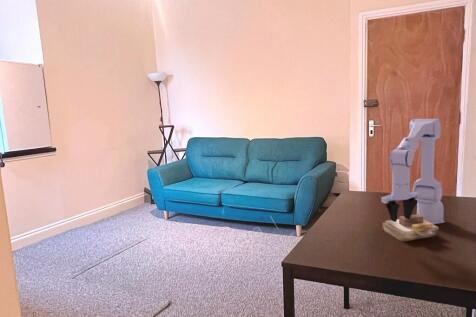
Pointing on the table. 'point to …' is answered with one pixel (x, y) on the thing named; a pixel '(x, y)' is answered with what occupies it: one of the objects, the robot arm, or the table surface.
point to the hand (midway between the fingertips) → (400, 219)
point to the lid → (410, 225)
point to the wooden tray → (402, 236)
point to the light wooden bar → (422, 226)
